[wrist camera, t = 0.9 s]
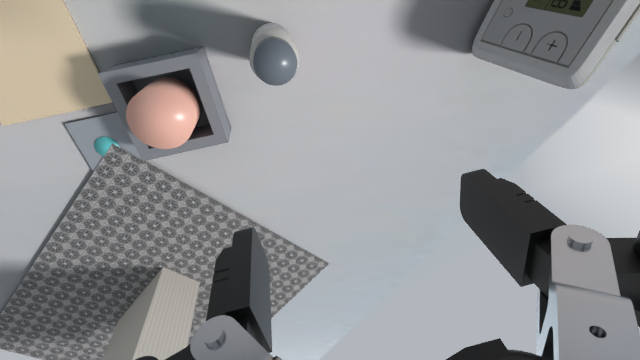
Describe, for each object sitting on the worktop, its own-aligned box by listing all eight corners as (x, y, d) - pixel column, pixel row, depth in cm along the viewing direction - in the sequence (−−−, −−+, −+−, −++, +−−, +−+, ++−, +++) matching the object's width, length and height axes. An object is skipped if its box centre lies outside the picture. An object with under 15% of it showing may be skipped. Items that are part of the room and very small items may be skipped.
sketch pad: (-103, -27, 24) (-106, -27, 24) (35, -54, 25) (33, -54, 25) (5, 124, 31) (2, 126, 30) (114, 101, 31) (112, 102, 31)
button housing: (114, 65, 30) (97, 73, 27) (203, 46, 30) (197, 52, 27) (153, 145, 34) (142, 161, 31) (231, 128, 34) (228, 142, 31)
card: (66, 123, 31) (63, 124, 31) (119, 111, 32) (117, 112, 31) (98, 177, 34) (97, 179, 34) (146, 166, 35) (145, 168, 34)
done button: (131, 83, 29) (113, 96, 25) (189, 71, 29) (179, 82, 25) (156, 136, 31) (143, 154, 28) (208, 125, 31) (202, 141, 28)
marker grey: (246, 27, 30) (242, 40, 22) (286, 19, 30) (295, 29, 22) (257, 68, 32) (256, 94, 24) (294, 60, 32) (306, 83, 24)
